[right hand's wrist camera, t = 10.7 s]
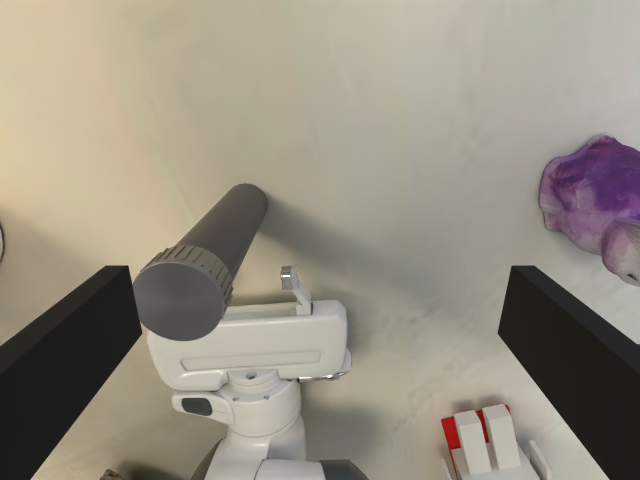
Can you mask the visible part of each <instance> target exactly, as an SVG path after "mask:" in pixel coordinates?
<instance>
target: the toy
mask: <svg viewBox="0 0 640 480" xmlns="http://www.w3.org/2000/svg"><path fill="white" fill-rule="evenodd" d="M453 415H454V417H453V418H448V419H444V420H441V421H442V425H443V429H444V432H445V436H446V439H447V443H448V447H449V450H450V454H451V457H452V461H453V464H454V468H455V472H456V475H457V479H458V480H552V469H551V467H550V466H549V464H548V463H547V461H546V460H545V458H544V456H543V455H542V453H541V452H540V450H539V449H538V447H537V445H536V444H535V442H534V441H533V440H530V441H529V450H530V462H529V461H528V459H527V457H526V456H525V454H524V453H523V451H522V449H521V448H520V446H519V445H518V443H517V440H516V435H515V431H514V427H513V422H512V417H511V414H510V410H509V407H508V406H507V405H504V404H499V405H494V406H489V407H485V408H482V411H479V412H475V410H470V411H466V412H461V413H456V414H453ZM440 461H441V463H442V466H443V469H444V471H445V474H446V477H447V479H448V480H453V479H452V477H451V474H450V472H449V470H448V467H447V465H446V462H445V460H444V458H442V459H440Z"/></svg>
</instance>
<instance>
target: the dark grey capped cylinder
mask: <svg viewBox="0 0 640 480" xmlns="http://www.w3.org/2000/svg"><path fill="white" fill-rule="evenodd" d="M266 211H267V199H266V197H265V195H264V193H263V192H262V191H261V190H260V189H259V188H258V187H256V186H254V185H251V184H239V185H237V186H235V187H233V188H232V189H231V190H230V191H229V192H228V193H227V194H226V195H225V196H224V197H223V198H222V199H221V200H220V201H219V202H218V203H217V204H216V205H215V206H214V207H213V208H212V209H211V210H210V211H209V212H208V213H207V214H206V215H205V216H204V217H203V218H202V219H201V220H200V221H199V222H198V223H197V224H196V225H195V226H194V227H193V228H192V229H191V230H190V231H189V232H188V233H187V234H186V235H185V237H184V238H183V239H182V240H181V241H180V242H179V243H178V244H177V245H176V246H181V245H190V246H193V245H194V246H196V247H200V248H204V249H205V250H208V251H210V252H212V253H213V254H214V255H216V256H217V257H218V258H220V260H221V261H222V262H223V263H224V264H225V265H226V267H227V269H228V271H229V272H230V275H231V279H232V280H234V278H235V276H236V274H237V272H238V270H239V268H240V266H241V263H242V261H243V259H244V257H245V255H246V253H247V251H248V249H249V247H250V245H251V243H252V241H253V238H254V236H255V234H256V232H257V230H258V228H259V226H260V224H261V222H262V220H263V218H264V216H265V213H266Z"/></svg>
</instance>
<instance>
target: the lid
mask: <svg viewBox="0 0 640 480" xmlns="http://www.w3.org/2000/svg"><path fill="white" fill-rule="evenodd" d="M140 272H141V273H140V274H139V275H138V276H137V277H136V279H135V281H134V283H133V285H132V286H133V291H134V296H135V300H136V305H137V310H138V315H139V320H140V322H141V323H142V324H143V325H144V326H145V327H146V328H148V329H149V330H150V331H152V332H153V333H155V334H157V335H158V336H161V337H163V338H166V339H169V340H174V341H193V340H197V339H200V338H202V337H204V336H206V335H208V334H209V333H211V332H212V331H213V330H214V329H215V328H216V327H217V325H218V324H219V322H220V320H221V319H223V317H224V314H225V312H226V310H227V308H228V305H229V303H230V300H231V298H232V291H233V288H232V282H233V280H232V279H231V275H230V272H229V271H228V269H227V267H226V265H225V264H224V263H223V262H222V261H221V260H220V258H218V257H217V256H216V255H214V254H213V253H212V252H210V251H208V250H205V249H204V248H200V247H196V246H194V245H193V246H190V245H181V246H174V247H172V248H169V249H168V248H166V249H165V250H164V251H163V252H162V253H161V252H160V253H159V254H158V255H156V256H155V257H154V258H153V259H152V260H151V261H150V262H149V263H148V264H147V265H146V266H145V267H144V268H143V269H142V270H141V271H140Z"/></svg>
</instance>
